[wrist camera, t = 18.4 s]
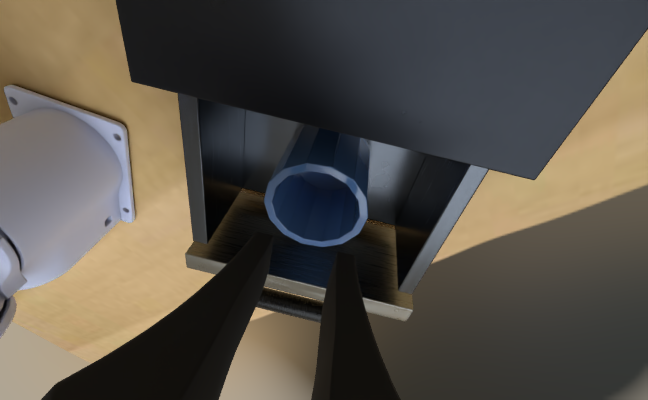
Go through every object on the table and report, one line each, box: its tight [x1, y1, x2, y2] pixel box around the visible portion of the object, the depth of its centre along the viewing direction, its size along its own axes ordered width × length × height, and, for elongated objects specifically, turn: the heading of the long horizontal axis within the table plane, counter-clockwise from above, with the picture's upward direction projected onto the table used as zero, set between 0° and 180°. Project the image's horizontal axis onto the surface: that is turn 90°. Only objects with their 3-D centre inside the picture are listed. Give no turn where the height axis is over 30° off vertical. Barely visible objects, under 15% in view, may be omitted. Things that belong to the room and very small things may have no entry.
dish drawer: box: [178, 93, 489, 323], centre depth 18 cm, size 19×13×6 cm
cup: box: [264, 124, 371, 247], centre depth 16 cm, size 5×5×5 cm
